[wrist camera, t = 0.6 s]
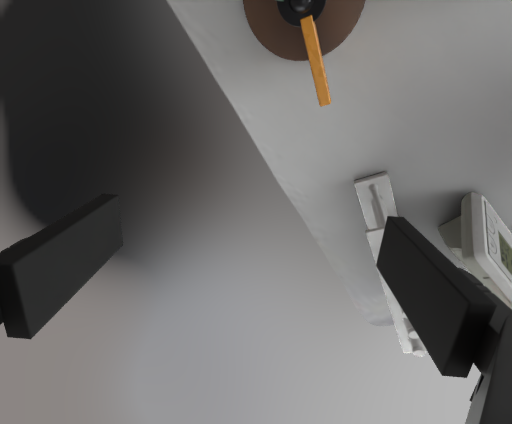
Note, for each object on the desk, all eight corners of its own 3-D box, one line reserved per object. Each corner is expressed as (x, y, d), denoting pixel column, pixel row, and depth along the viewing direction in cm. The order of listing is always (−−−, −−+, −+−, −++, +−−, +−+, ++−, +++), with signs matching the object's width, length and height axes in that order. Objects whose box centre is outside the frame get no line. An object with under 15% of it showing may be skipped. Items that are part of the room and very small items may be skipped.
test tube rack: (353, 180, 43) (367, 246, 32) (386, 171, 41) (413, 236, 31) (387, 294, 55) (406, 368, 45) (414, 290, 54) (440, 366, 43)
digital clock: (524, 258, 47) (572, 319, 38) (458, 275, 50) (489, 335, 42) (501, 176, 40) (553, 229, 31) (426, 204, 43) (455, 258, 35)
